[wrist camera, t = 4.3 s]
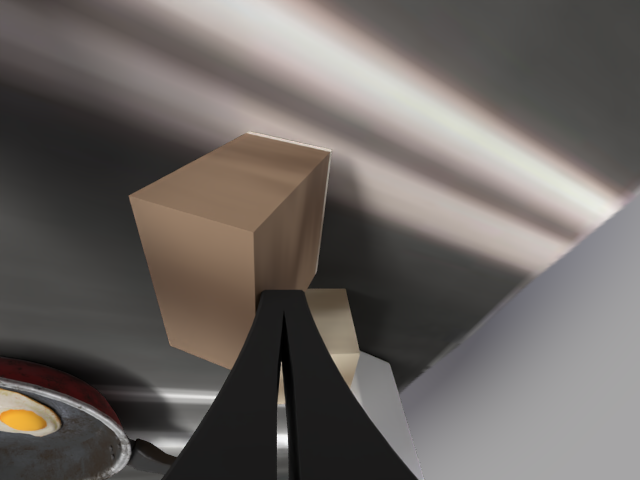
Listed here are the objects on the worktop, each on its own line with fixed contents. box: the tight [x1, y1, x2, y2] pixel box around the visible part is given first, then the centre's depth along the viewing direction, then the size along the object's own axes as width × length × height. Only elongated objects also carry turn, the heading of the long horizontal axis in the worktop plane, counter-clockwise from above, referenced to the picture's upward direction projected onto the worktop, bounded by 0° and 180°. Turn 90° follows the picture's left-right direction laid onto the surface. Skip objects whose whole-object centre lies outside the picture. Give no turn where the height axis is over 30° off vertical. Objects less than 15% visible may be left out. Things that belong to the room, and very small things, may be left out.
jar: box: [350, 351, 425, 480], centre depth 23 cm, size 9×8×12 cm
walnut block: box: [129, 131, 332, 370], centre depth 14 cm, size 7×4×7 cm, turn 174°
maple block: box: [278, 289, 360, 404], centre depth 21 cm, size 5×5×5 cm
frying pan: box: [0, 357, 177, 480], centre depth 27 cm, size 19×32×4 cm, turn 58°
